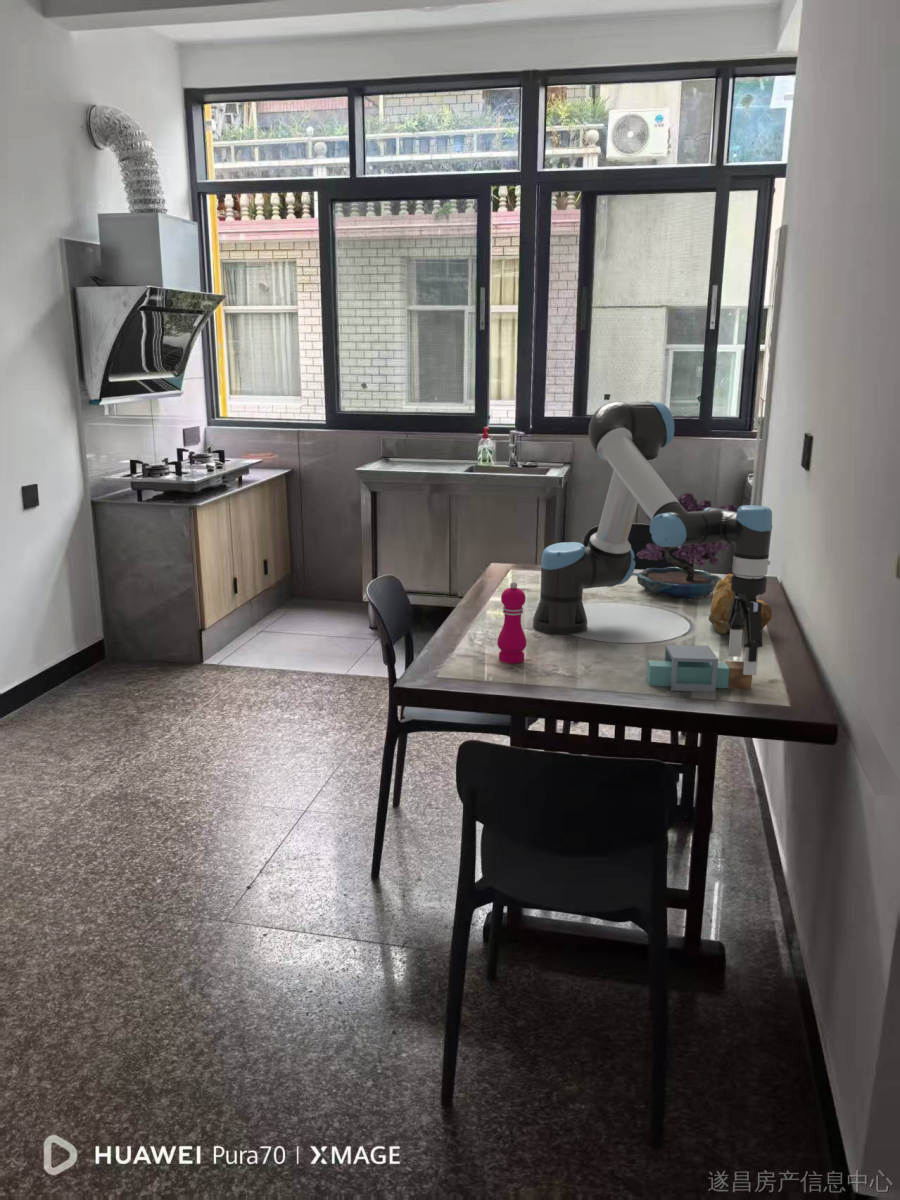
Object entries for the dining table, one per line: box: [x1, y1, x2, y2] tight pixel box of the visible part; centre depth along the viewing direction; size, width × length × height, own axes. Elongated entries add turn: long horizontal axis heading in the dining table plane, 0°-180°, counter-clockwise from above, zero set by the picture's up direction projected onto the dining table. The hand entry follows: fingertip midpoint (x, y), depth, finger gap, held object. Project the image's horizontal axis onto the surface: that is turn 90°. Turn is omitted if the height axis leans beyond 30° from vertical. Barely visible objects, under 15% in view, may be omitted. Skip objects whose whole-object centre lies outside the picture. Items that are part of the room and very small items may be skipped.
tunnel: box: [663, 644, 719, 693], centre depth 212 cm, size 10×10×8 cm
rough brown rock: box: [708, 573, 773, 635], centre depth 254 cm, size 23×16×15 cm
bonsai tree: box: [635, 492, 738, 600], centre depth 293 cm, size 35×27×32 cm
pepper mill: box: [496, 581, 527, 664], centre depth 226 cm, size 7×7×20 cm
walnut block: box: [724, 660, 753, 690], centre depth 212 cm, size 5×5×5 cm
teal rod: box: [646, 660, 730, 689], centre depth 212 cm, size 18×4×5 cm, turn 86°
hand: (741, 665), depth 211 cm, fingers open, 13 cm apart
